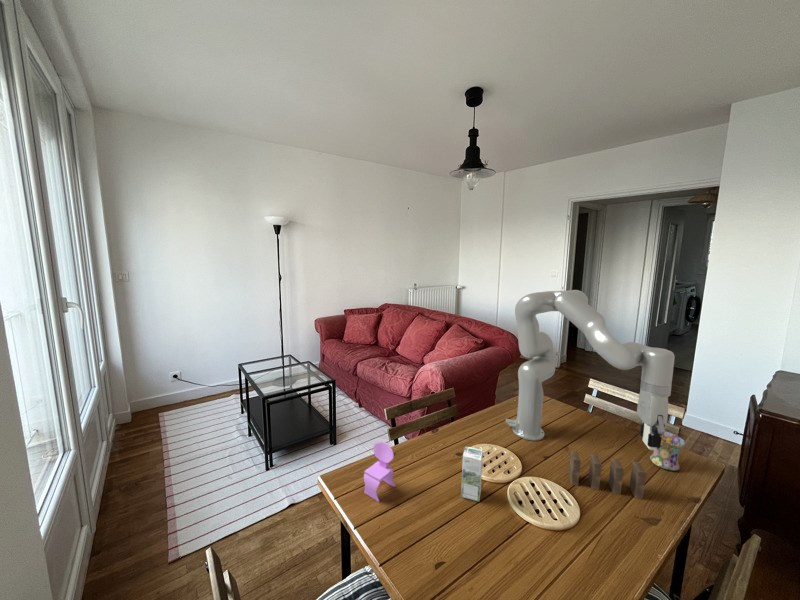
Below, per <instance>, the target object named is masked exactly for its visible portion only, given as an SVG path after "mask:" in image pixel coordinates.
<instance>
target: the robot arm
mask: <svg viewBox="0 0 800 600" xmlns="http://www.w3.org/2000/svg"><path fill="white" fill-rule="evenodd" d="M548 312H549V313H551V312H559V313H560V314H561V315H563V316H564V317H565V318H566V319H567V320H568V321H569V322H571V323H572V324H573V325H574V326H575V327H576V328H577V329H579V330H580V331H581V332H582V334H584V336H585V338H586V340H587V341H588V343H589V345H590V346H591V347H592V349H593V350H594V351H595V352H596V353H597V354H598V355H599V356H600V357H601V358H602V359H604V360H605V361H606V362H607V363H608V364H609V365H611V366H612V367H614V368H616V369H618V370H621V371H629V370H632V369H634V368H635V367H638V366H641V374H640V375H641V376H640V388H639V390H640V391H639V395H638V401H637V407H636V413H637V415H638V416H639V418H640V432H639V436H640V437H641V438H643V433H644V422H645V424H646V425H648V426H650V434H648V444H647V445H648V446H649V447H655V448H660V446H661V437H662V434H664V433H665V432H666V431H665V428H667V425H668V419H669V397H670V396H671V393H672V383H673V376H674V375H673V374H674V366H675V354H674V351H671V350H668V349H667V348H661V347H653V346H652V347H651V346H648V345H644V344H641V343H639V342H634V341H630V342H625V343H621V342H620V341H619V340H618V339H616V338H615V337H614V336H613V335H612V334H611V333H610V332H609V330H608V329H607V327H606V323H605V317H604V315H602V314H601V313H600V312H598V311H597V309H594V308H593V307H592V306H591V305H590V304H589V298H588V296H587V294H585V292H583V291H581V290H579V289H573V290H572V289H569V290H549V291H548V290H547V291H540V292H533V293H528V294H526V295H524V296H522V297H521V298H520V299H519V300H518V301H517V303H516V304H515V309H514V315H515V316H514V317H515V321H516V331H517V339H518V340H517V341H518V349H519V353H520V354H521V355H522V357H524V358H527V359H530V360H527V361H525V362H523V363H521V365H520V366H519V368H518V371H517V377H518V401H517V402H518V403H517V413H516V414H517V415H516V417H515V419H510V418H505V424H507V425H508V427H512V432H513V434H515V435H516V436H517V437H519V438H521V439H524V440H528V441H540V440H543V439H544V437H545V431H544V430H543V428H542V417H543V404H544V389H543V386H542V384H543V382H544V381H546V380H548V379H550V378H551V377H553V376H554V375H555V371H556V361H555V360H556V359H555V351H554V349H555V347H554V343H553V340H552V338H551V337H550V335H548V334H547V333H546V332H543V331H540V325H539V324H540V323H539V319H537V317H536V316H537V315H539V314H545V313H548ZM531 358H532V359H531ZM655 423H656V424H657V425H654V424H655ZM654 427H655V428H658V429H657V430H654Z"/></svg>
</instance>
